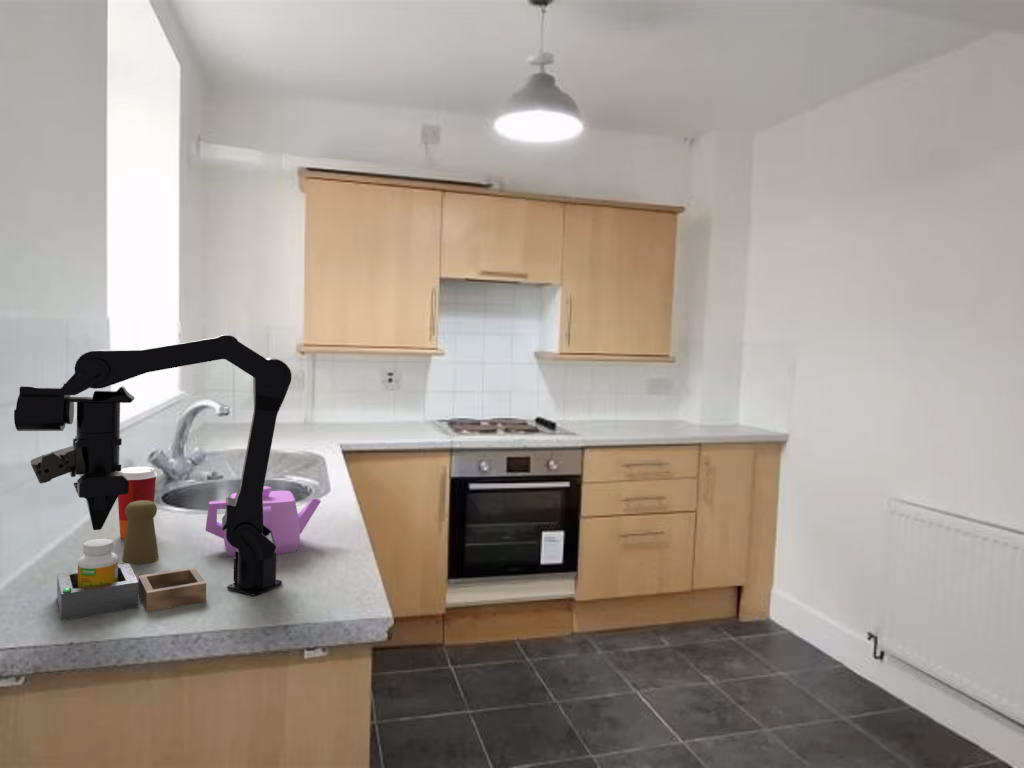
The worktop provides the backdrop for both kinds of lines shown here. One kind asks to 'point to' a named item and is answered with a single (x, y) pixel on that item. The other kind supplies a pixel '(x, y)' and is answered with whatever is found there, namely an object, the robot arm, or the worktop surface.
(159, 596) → the wooden box
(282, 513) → the teakettle
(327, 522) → the worktop surface
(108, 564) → the supplement bottle
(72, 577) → the port
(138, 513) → the cork
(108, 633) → the worktop surface
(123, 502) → the paper cup
